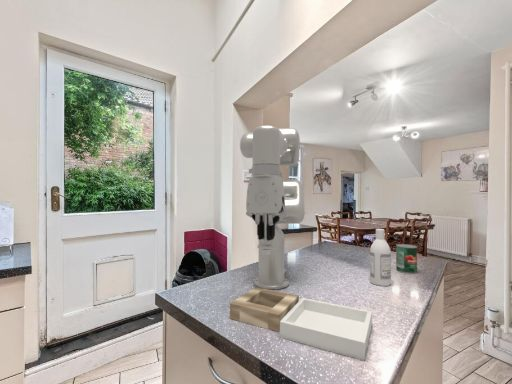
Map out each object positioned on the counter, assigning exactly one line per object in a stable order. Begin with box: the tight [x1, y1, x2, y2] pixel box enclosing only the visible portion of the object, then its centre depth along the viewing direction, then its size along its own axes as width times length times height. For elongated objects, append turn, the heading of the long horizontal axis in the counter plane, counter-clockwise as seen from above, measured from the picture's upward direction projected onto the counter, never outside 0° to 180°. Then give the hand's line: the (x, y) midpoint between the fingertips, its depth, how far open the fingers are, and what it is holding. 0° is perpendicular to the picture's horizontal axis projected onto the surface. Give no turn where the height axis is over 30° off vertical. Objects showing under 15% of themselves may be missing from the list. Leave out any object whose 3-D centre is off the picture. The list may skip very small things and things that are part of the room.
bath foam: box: [369, 228, 392, 287], centre depth 97 cm, size 7×7×20 cm
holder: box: [229, 286, 300, 333], centre depth 71 cm, size 14×14×4 cm
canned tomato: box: [395, 243, 418, 275], centre depth 113 cm, size 8×8×11 cm
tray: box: [279, 297, 373, 362], centre depth 62 cm, size 16×18×4 cm
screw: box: [256, 214, 275, 255], centre depth 72 cm, size 13×5×5 cm
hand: (266, 238), depth 72 cm, fingers closed on screw, 2 cm apart
